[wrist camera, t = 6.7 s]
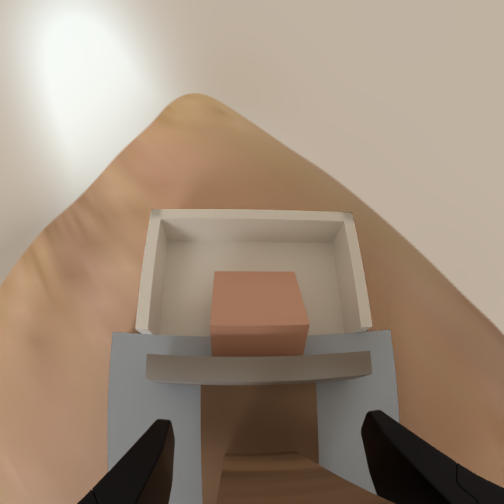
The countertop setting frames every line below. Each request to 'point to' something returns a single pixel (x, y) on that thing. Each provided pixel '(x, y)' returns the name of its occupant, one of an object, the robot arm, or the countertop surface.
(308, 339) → the board
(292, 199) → the countertop surface
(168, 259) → the tray
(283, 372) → the scraper
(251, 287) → the tile
